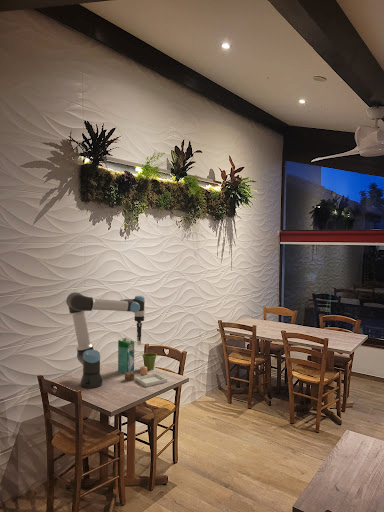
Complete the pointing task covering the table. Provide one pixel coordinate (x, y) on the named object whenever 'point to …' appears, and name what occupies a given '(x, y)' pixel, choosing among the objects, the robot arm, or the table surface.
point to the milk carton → (125, 355)
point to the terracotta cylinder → (143, 371)
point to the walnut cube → (129, 376)
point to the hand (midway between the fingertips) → (138, 342)
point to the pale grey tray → (151, 379)
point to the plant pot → (149, 360)
